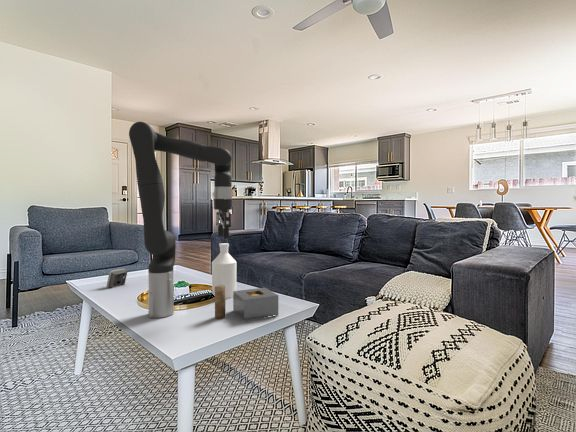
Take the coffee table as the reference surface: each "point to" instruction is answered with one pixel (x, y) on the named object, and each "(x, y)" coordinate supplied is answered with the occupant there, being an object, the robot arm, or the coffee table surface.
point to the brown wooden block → (220, 302)
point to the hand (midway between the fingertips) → (223, 237)
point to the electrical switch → (116, 278)
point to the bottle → (224, 271)
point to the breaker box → (255, 303)
